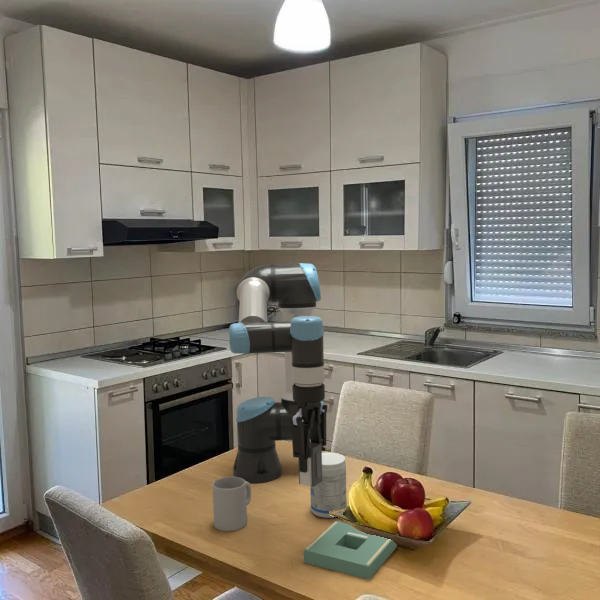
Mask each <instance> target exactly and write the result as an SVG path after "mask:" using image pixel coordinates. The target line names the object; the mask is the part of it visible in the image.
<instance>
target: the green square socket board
mask: <svg viewBox="0 0 600 600" xmlns="http://www.w3.org/2000/svg"><path fill="white" fill-rule="evenodd" d="M348 524H349V523H347V524H346V522H341V521H336V520H334V521H333V523H331V524H330V525H329V526H328V527H327V528H325V530H324V531H322V532H321V533H320V534H319V535H318V536H317V537H316V538H315V539H313V540H312V541H311V542H310V543H309V544H308V545H306V546H305V547H304V548H303V551H302V552H303V553H302V554H303V563H305V564H308V565H312V566H315V567H319V568H323V569H327V570H331V571H334V572H339V573H341V574H346V575H349V576H353V577H357V578H361V579H364V580H368V581H369V580H371V579H372V577H373V576H374V575H375V573H376V572H378V570H379V569H380V567H382V565H384V563H385V562H386V561H387V560H388V558H389V557H390V556H391V554H393V552H394V551H395V549H396V548H397V547H398V546H397V545H398V543H397V544H396V543H395V542H394V541H393V540H391V539H387V538H384V537H380V536H376V535H370V534H366V533H364V532H361V531H359V530H357V529H355V528H353V527H352V526H350V525H348Z"/></svg>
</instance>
